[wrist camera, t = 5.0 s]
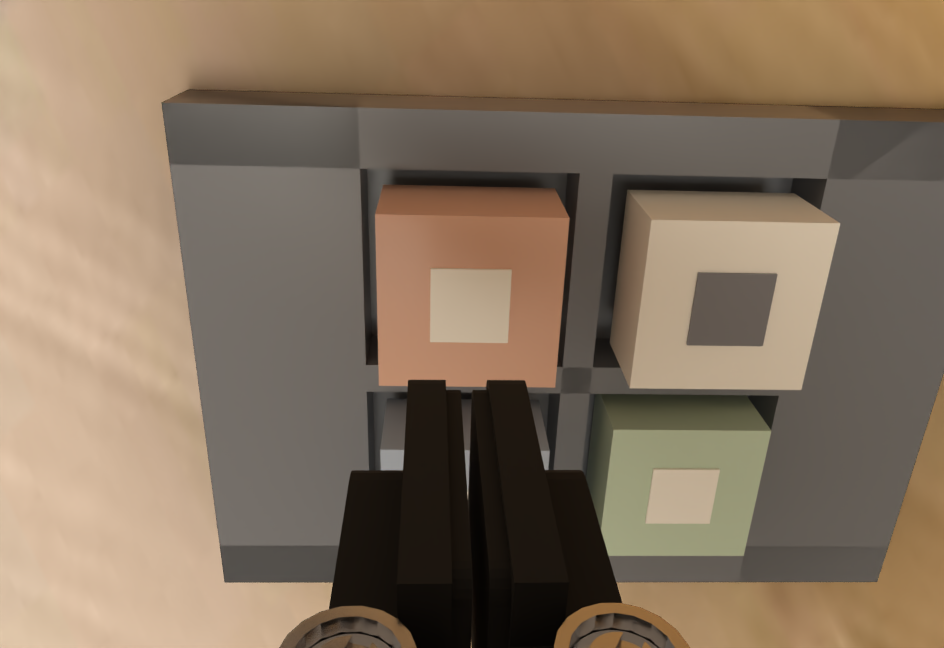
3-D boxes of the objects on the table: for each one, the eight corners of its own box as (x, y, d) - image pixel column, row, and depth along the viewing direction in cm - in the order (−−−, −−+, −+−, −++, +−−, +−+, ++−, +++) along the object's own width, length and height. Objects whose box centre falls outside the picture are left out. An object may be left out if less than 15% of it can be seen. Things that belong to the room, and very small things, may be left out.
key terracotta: (554, 188, 19) (570, 219, 17) (542, 341, 21) (555, 389, 19) (382, 184, 19) (375, 215, 17) (385, 340, 21) (378, 387, 18)
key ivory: (793, 193, 20) (841, 224, 17) (762, 344, 21) (802, 391, 19) (627, 189, 19) (652, 220, 17) (609, 342, 21) (630, 389, 19)
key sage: (738, 384, 23) (772, 432, 21) (715, 501, 25) (744, 557, 22) (596, 383, 23) (614, 431, 20) (583, 500, 24) (598, 557, 22)
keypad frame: (971, 109, 20) (1023, 124, 18) (846, 539, 26) (877, 582, 24) (187, 89, 19) (161, 102, 18) (240, 537, 25) (224, 582, 23)
